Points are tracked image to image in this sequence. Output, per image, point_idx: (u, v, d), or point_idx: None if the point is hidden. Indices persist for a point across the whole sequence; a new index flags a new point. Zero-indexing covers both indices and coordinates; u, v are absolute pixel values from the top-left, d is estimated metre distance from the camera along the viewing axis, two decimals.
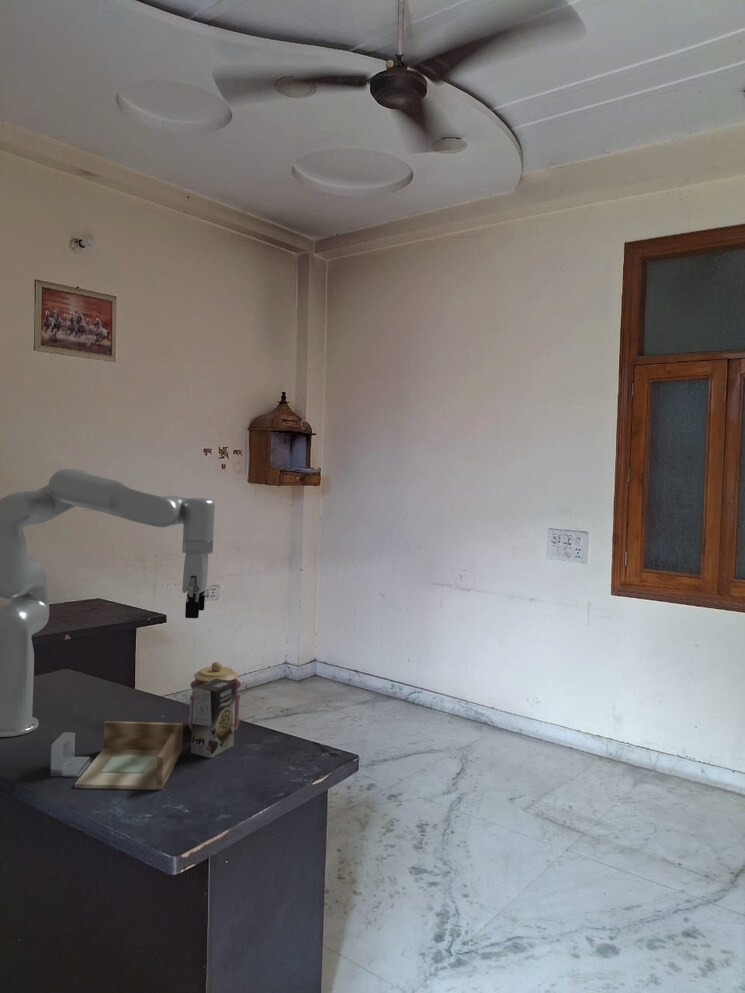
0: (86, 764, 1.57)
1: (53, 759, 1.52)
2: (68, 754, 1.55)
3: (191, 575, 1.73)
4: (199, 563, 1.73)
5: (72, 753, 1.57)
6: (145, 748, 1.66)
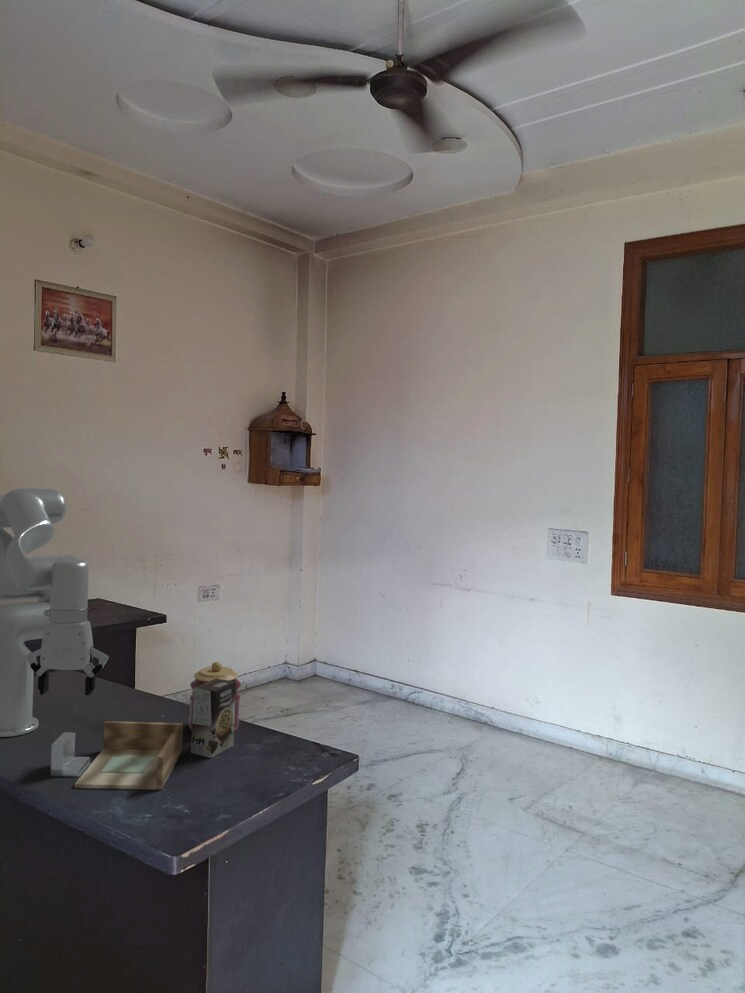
0: (86, 764, 1.57)
1: (53, 759, 1.52)
2: (68, 754, 1.55)
3: (90, 646, 1.54)
4: (91, 631, 1.56)
5: (72, 753, 1.57)
6: (145, 748, 1.66)
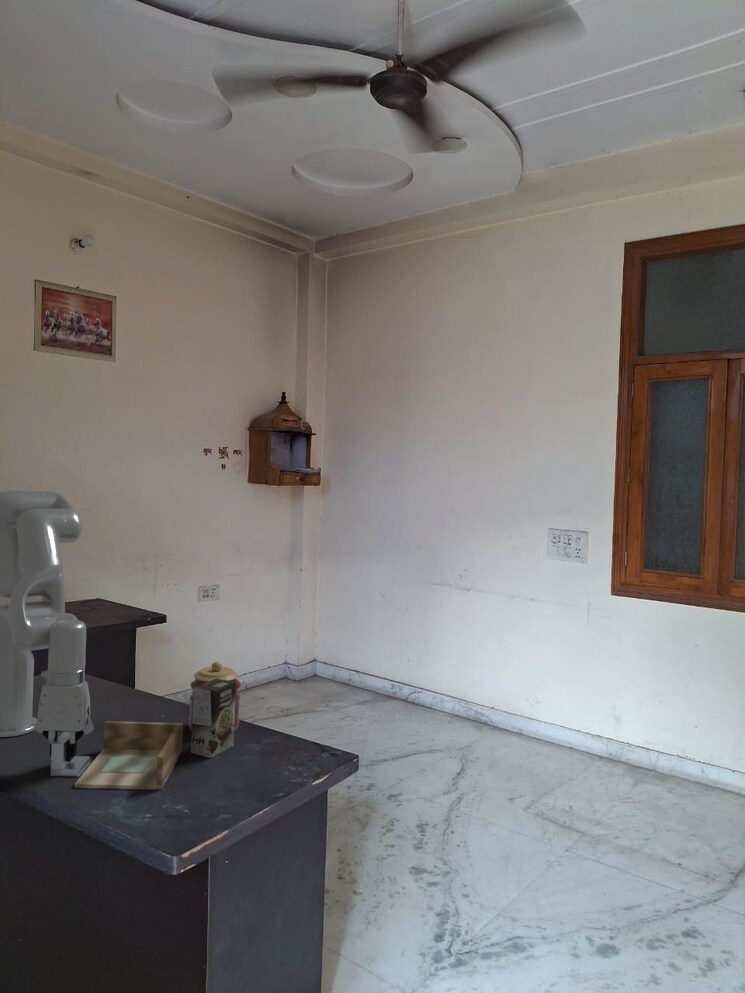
0: (86, 764, 1.57)
1: (53, 758, 1.52)
2: None
3: (87, 707, 1.55)
4: (88, 691, 1.56)
5: None
6: (145, 748, 1.66)
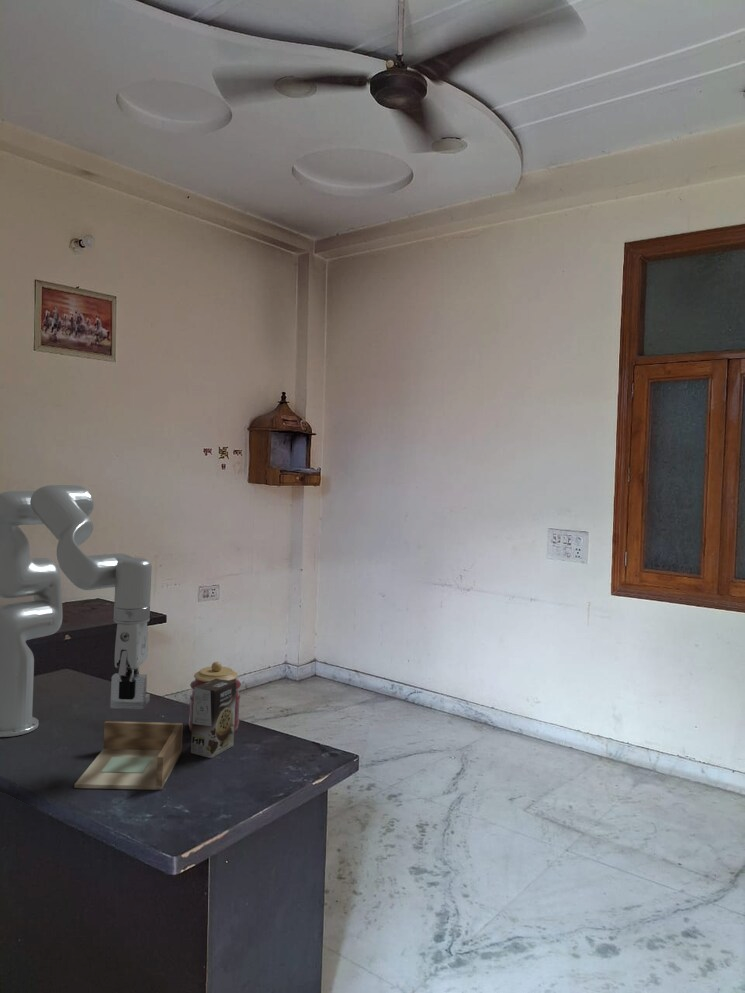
0: None
1: (144, 691, 1.55)
2: None
3: None
4: None
5: None
6: (145, 748, 1.66)
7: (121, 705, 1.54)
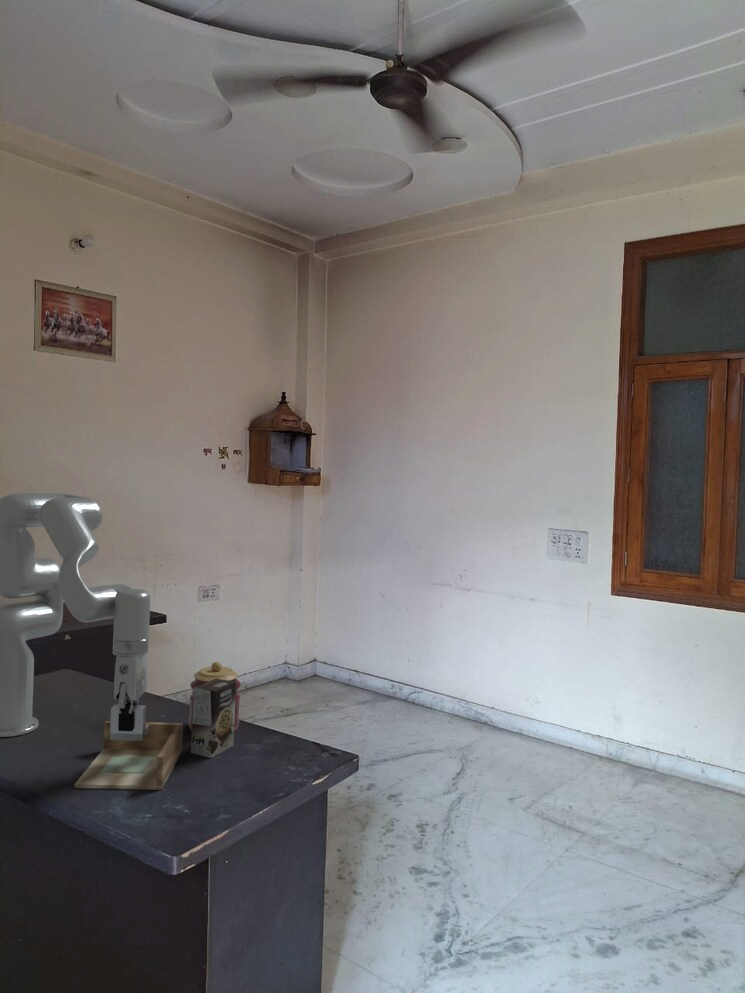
0: None
1: (143, 723, 1.55)
2: None
3: None
4: None
5: None
6: (145, 748, 1.66)
7: (121, 737, 1.54)
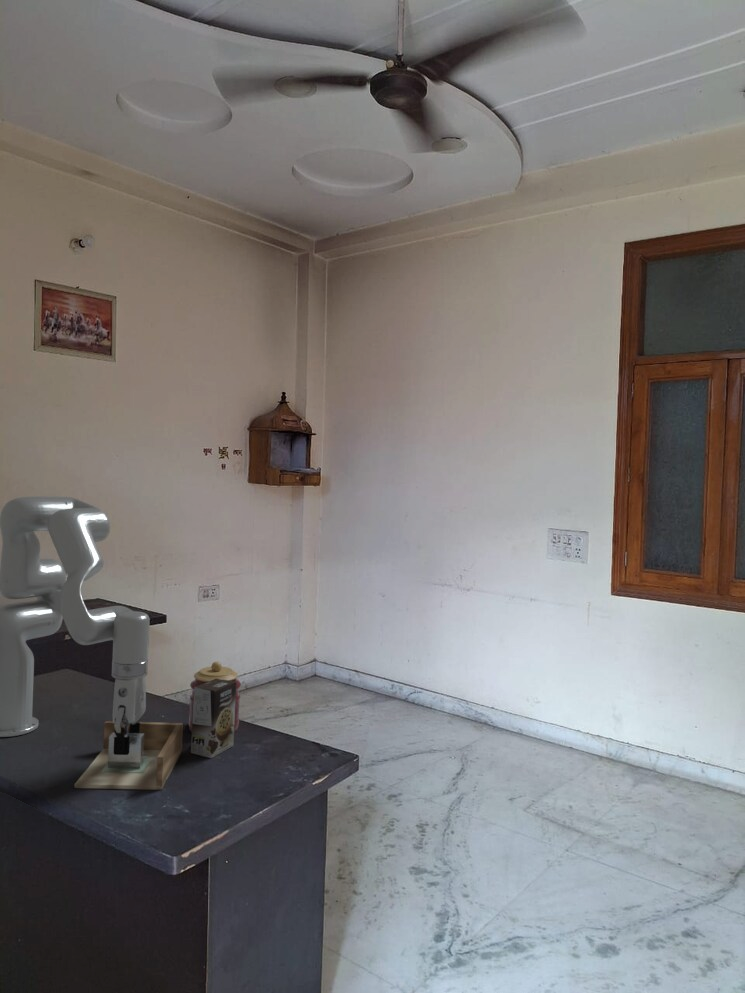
0: None
1: (141, 751, 1.56)
2: None
3: None
4: None
5: None
6: (145, 748, 1.66)
7: (119, 765, 1.55)
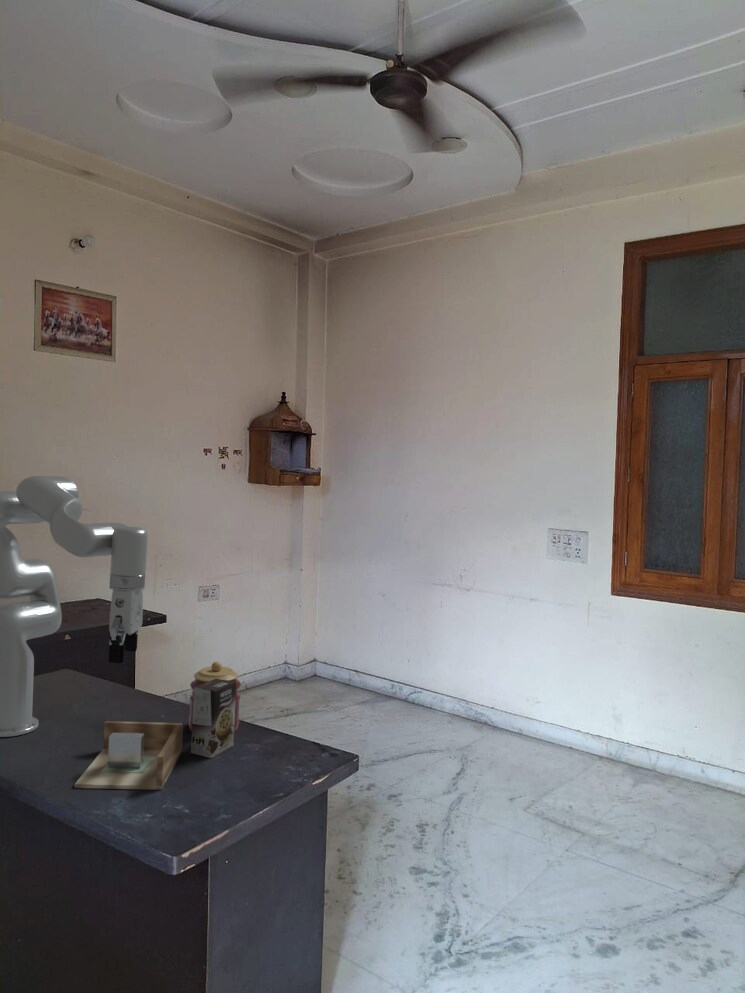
0: None
1: (141, 751, 1.56)
2: None
3: None
4: None
5: None
6: (145, 748, 1.66)
7: (119, 765, 1.55)
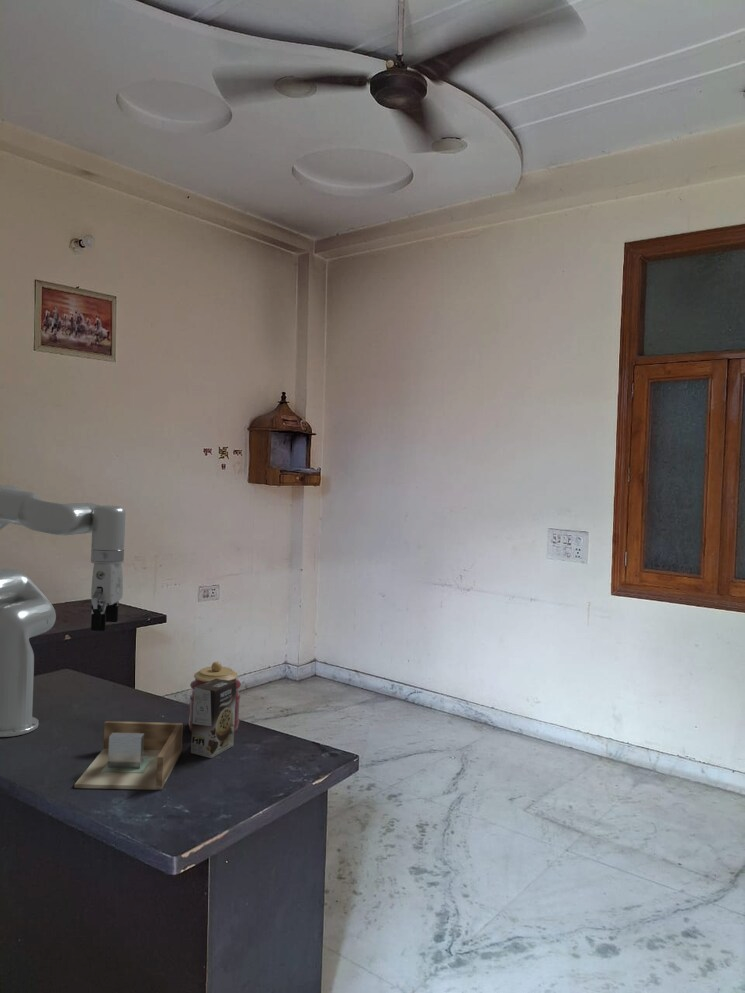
0: None
1: (141, 751, 1.56)
2: None
3: None
4: None
5: None
6: (145, 748, 1.66)
7: (119, 765, 1.55)
